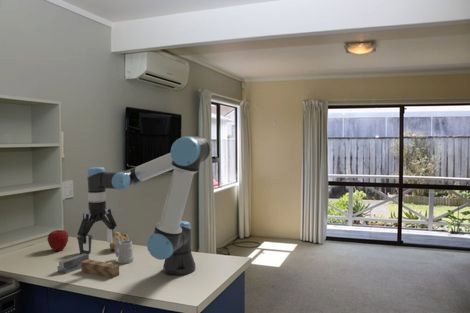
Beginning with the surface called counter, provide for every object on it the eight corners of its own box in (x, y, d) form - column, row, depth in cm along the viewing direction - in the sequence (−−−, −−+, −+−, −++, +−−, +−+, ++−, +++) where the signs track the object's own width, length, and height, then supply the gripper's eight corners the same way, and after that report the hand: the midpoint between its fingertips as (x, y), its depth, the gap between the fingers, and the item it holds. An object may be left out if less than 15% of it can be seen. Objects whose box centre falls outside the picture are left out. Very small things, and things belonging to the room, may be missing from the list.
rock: (112, 246, 221) (111, 229, 221) (130, 245, 222) (129, 228, 222) (107, 253, 209) (106, 234, 209) (126, 252, 211) (126, 234, 210)
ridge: (90, 264, 191) (90, 254, 191) (65, 273, 179) (65, 263, 179) (82, 262, 194) (82, 253, 194) (57, 271, 182) (57, 261, 182)
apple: (45, 250, 217) (44, 229, 216) (64, 246, 224) (64, 226, 224) (51, 254, 209) (50, 233, 208) (71, 250, 216) (70, 229, 216)
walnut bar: (119, 275, 176) (118, 265, 176) (112, 278, 172) (112, 267, 172) (88, 269, 185) (87, 259, 185) (81, 272, 182) (81, 261, 181)
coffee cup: (87, 250, 215) (86, 232, 215) (96, 252, 211) (95, 234, 210) (74, 254, 209) (73, 235, 208) (83, 256, 204) (82, 238, 203)
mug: (125, 264, 190) (124, 240, 189) (109, 260, 196) (108, 237, 195) (137, 260, 196) (136, 237, 195) (121, 256, 203) (120, 234, 202)
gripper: (112, 196, 189) (113, 238, 191) (67, 204, 168) (69, 252, 169) (123, 197, 185) (124, 240, 187) (79, 206, 164) (80, 255, 165)
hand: (98, 246), depth 178 cm, fingers open, 13 cm apart
